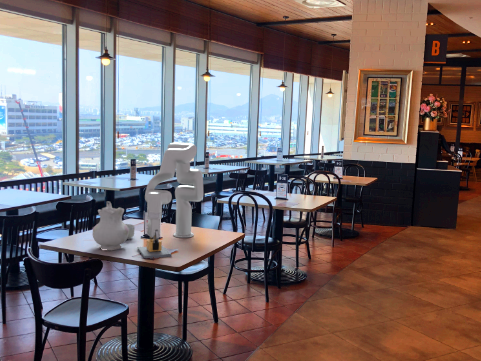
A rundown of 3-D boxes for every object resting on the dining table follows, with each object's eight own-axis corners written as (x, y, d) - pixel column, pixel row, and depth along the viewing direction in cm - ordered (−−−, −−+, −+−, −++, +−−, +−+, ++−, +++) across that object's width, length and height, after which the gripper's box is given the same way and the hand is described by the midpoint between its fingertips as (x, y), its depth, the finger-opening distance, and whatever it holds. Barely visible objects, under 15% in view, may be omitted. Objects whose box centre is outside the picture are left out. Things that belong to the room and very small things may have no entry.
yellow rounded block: (146, 248, 252) (146, 239, 252) (158, 247, 255) (158, 238, 255) (149, 251, 247) (149, 242, 246) (161, 250, 249) (161, 241, 249)
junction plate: (137, 249, 256) (137, 241, 256) (162, 248, 262) (162, 239, 262) (144, 258, 240) (144, 249, 240) (171, 256, 246) (171, 247, 245)
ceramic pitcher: (87, 246, 264) (83, 203, 260) (120, 240, 275) (117, 198, 271) (100, 256, 246) (97, 210, 242) (135, 248, 258) (132, 204, 253)
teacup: (132, 236, 287) (132, 223, 287) (136, 240, 278) (136, 226, 277) (109, 237, 281) (109, 224, 281) (112, 242, 272) (112, 228, 271)
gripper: (143, 212, 255) (143, 244, 257) (151, 218, 239) (150, 253, 241) (157, 212, 258) (156, 243, 260) (165, 218, 242) (165, 251, 244)
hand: (154, 248), depth 251 cm, fingers closed on yellow rounded block, 6 cm apart
